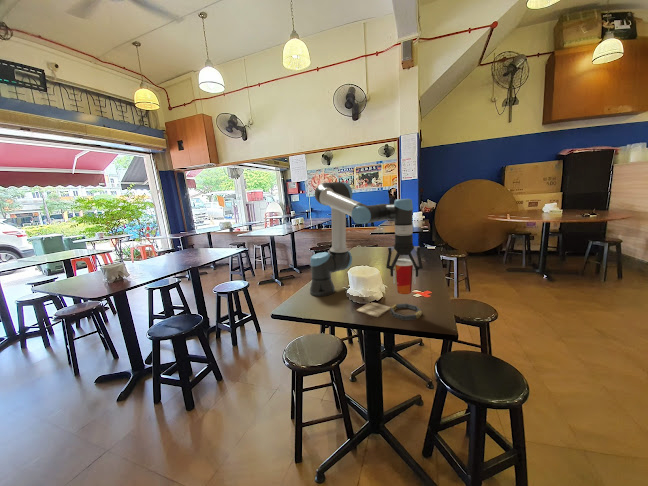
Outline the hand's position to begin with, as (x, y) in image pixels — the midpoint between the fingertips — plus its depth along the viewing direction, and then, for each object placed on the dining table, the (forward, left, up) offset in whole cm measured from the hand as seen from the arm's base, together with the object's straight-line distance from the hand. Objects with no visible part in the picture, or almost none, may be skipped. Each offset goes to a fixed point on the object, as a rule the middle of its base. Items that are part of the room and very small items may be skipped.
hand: (404, 283), depth 114 cm
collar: (0, 0, -15) cm, 15 cm away
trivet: (-14, -5, -15) cm, 21 cm away
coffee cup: (0, 0, -4) cm, 4 cm away
